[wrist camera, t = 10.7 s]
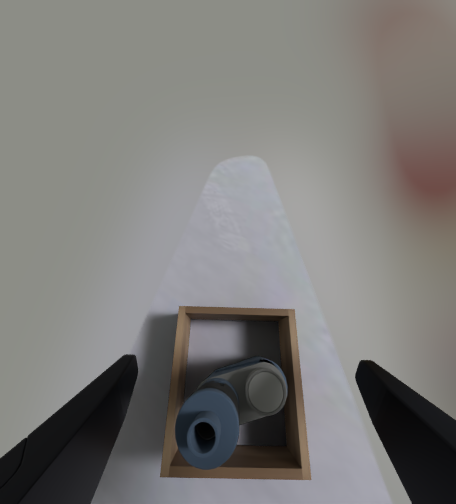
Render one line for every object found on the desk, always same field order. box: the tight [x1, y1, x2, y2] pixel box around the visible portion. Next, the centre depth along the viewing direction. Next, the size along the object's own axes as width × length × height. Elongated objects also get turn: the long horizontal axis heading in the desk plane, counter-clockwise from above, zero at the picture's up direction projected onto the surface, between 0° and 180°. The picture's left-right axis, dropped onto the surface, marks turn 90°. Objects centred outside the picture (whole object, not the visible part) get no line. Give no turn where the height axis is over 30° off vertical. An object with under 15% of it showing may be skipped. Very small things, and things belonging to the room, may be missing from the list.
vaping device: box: [175, 356, 288, 470], centre depth 13 cm, size 3×5×12 cm, turn 105°
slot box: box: [160, 306, 311, 480], centre depth 17 cm, size 10×9×4 cm
